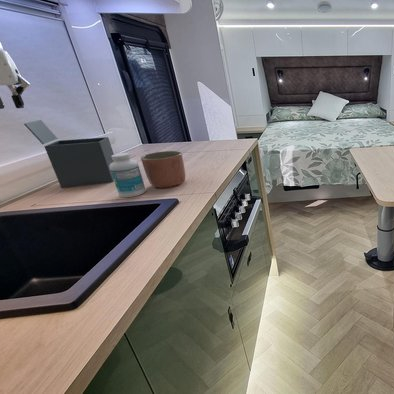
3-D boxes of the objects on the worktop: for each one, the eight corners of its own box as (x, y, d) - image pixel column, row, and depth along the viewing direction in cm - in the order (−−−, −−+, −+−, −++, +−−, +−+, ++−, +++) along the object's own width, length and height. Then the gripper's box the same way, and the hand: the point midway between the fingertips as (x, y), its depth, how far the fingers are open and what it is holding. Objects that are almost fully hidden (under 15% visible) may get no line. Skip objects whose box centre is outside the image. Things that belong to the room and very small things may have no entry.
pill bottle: (123, 191, 99) (110, 152, 94) (148, 188, 101) (137, 150, 96) (115, 199, 92) (101, 158, 87) (142, 196, 95) (130, 156, 90)
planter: (175, 177, 114) (168, 149, 109) (195, 181, 108) (189, 153, 104) (141, 186, 103) (132, 156, 99) (162, 192, 98) (153, 161, 94)
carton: (61, 188, 103) (44, 146, 97) (73, 179, 112) (58, 140, 106) (112, 181, 109) (99, 142, 103) (120, 174, 118) (108, 137, 112)
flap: (43, 144, 97) (42, 144, 97) (57, 138, 106) (56, 139, 106) (24, 123, 93) (23, 123, 93) (41, 119, 103) (39, 120, 102)
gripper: (-67, 43, 81) (-34, 110, 88) (14, 45, 88) (39, 108, 95) (-48, 45, 88) (-18, 108, 95) (27, 47, 94) (49, 106, 101)
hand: (10, 107), depth 95 cm, fingers open, 4 cm apart
